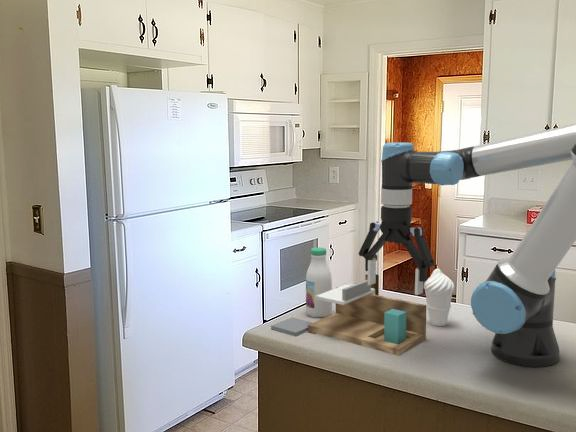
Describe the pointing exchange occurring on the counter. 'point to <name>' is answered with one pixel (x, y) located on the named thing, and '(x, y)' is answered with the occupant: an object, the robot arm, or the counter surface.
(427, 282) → the soft serve ice cream cone
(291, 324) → the coaster
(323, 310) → the milk bottle
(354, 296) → the lid
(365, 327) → the brown piece
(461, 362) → the counter surface
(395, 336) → the block
